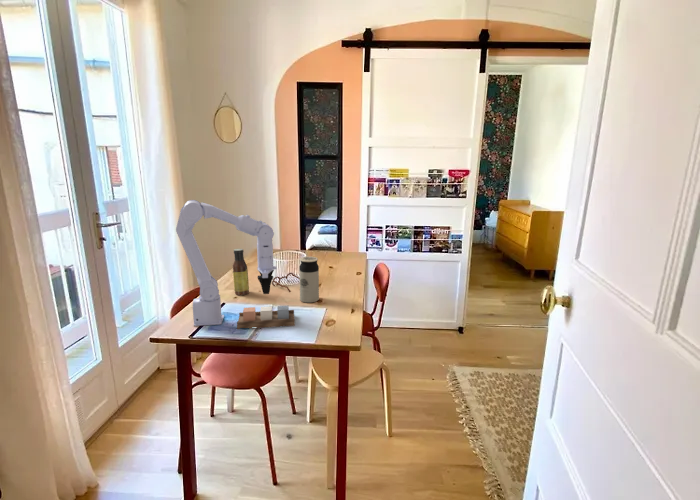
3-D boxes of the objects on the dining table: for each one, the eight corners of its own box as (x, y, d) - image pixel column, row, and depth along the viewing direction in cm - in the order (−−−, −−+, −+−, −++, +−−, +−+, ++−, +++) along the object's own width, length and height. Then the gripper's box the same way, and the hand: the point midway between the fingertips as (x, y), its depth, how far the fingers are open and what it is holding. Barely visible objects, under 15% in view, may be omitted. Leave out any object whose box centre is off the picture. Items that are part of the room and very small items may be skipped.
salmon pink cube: (243, 321, 139) (242, 311, 139) (244, 316, 143) (244, 307, 142) (255, 320, 140) (254, 311, 139) (255, 316, 144) (255, 307, 143)
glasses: (292, 281, 192) (292, 271, 191) (311, 286, 184) (311, 276, 183) (271, 287, 182) (271, 277, 181) (290, 294, 174) (290, 283, 173)
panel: (237, 329, 137) (236, 322, 136) (239, 318, 146) (239, 312, 145) (294, 325, 140) (294, 319, 140) (294, 315, 149) (293, 309, 148)
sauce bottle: (251, 293, 173) (249, 249, 168) (239, 296, 168) (236, 252, 164) (243, 290, 177) (241, 247, 172) (231, 293, 173) (228, 249, 168)
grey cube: (277, 319, 141) (277, 310, 141) (277, 314, 145) (277, 306, 144) (288, 318, 142) (288, 309, 141) (288, 314, 146) (288, 305, 145)
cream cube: (260, 320, 140) (260, 311, 140) (261, 315, 144) (260, 306, 143) (272, 319, 141) (271, 310, 140) (272, 315, 145) (272, 306, 144)
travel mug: (310, 295, 171) (310, 255, 167) (322, 299, 166) (322, 258, 162) (296, 299, 166) (295, 258, 162) (307, 304, 161) (307, 262, 156)
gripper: (275, 260, 139) (277, 296, 142) (276, 251, 153) (277, 284, 156) (255, 261, 138) (257, 297, 141) (257, 251, 152) (259, 284, 155)
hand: (266, 290), depth 149 cm, fingers open, 6 cm apart
